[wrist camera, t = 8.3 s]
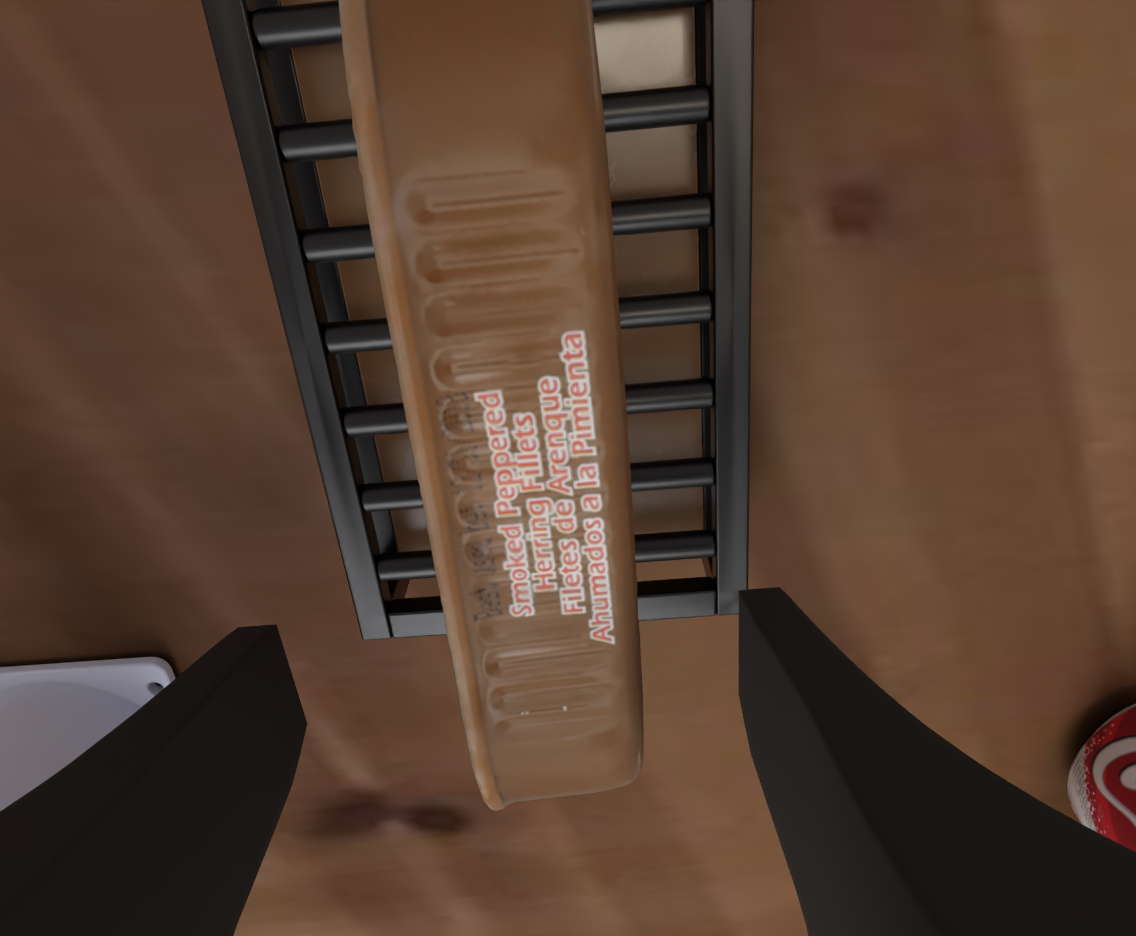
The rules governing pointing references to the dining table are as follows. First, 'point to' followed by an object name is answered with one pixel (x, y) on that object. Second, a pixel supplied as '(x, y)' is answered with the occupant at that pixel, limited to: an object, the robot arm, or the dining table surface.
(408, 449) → the rack
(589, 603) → the tin
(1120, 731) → the soda can
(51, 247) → the dining table surface
